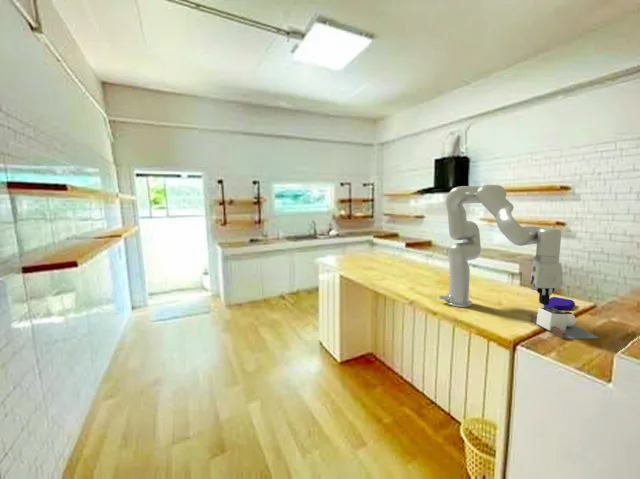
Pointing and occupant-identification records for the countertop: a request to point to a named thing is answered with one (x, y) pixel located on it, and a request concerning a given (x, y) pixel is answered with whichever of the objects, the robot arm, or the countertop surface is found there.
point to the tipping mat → (568, 332)
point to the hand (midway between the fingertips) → (543, 303)
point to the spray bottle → (560, 303)
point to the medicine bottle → (555, 318)
